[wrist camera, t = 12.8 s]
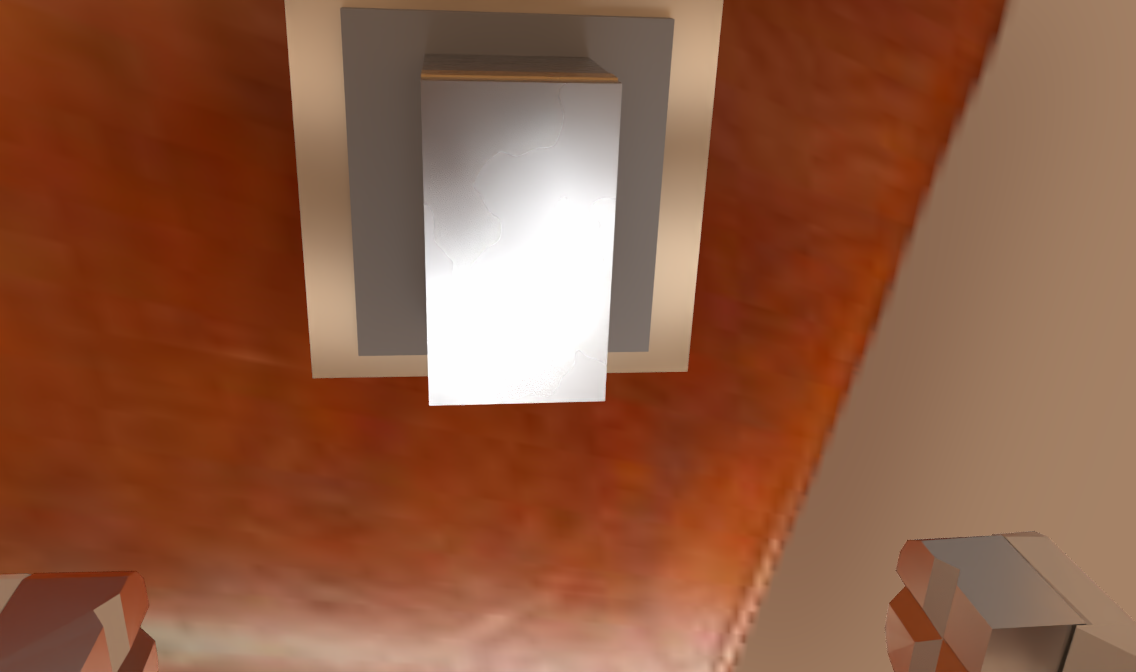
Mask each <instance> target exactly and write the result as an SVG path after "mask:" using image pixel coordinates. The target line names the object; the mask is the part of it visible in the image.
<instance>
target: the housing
mask: <svg viewBox="0 0 1136 672" xmlns="http://www.w3.org/2000/svg"><path fill="white" fill-rule="evenodd" d="M420 82H421V119H422V157H423V194H424V232H425V269H426V307H427V344H428V382H429V406H435V405H473V404H512V403H550V402H588V401H605V390H606V372H607V354H608V335H609V317H610V299H611V281H612V262H613V244H614V226H615V208H616V190H617V171H618V153H619V135H620V117H621V99H622V83H621V82H619V81H618V78H617V77H616V76H615V75H613V74H612V73H608V72H607V71H606V70H604V69H603V68H602V67H601V66H599V65H598V64H597V63H596V62H594V61H593V60H592V59H591V58H589V57H556V56H509V55H461V54H424V60H423V67H422V71H421V80H420Z"/></svg>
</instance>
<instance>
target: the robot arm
mask: <svg viewBox="0 0 1136 672" xmlns="http://www.w3.org/2000/svg"><path fill="white" fill-rule="evenodd" d="M896 572H897V573H898V575H899V577H900V578H901V580H902V582H903V583H904V585H905V587H904V588H903V589H902V590H901V591H900V592H899V594H897V595H896V597H895V598H894V599H893V600H892V601H891V602H890V603H889V606H888V612H887V617H886V624H885V635H886V644H887V652H888V656H889V658H890V662H891V664H892V667H893V670H894V672H1136V622H1135V621H1134V620H1133V619H1132V618H1131V617H1130V616H1129V615H1128V614H1127V613H1126V612H1125V611H1124V610H1123V609H1122V608H1121V607H1120V606H1119V605H1118V604H1117V603H1115V602H1114V600H1113V599H1111V598H1110V597H1109V596H1108V595H1107V594H1106V593H1105V592H1104V591H1103V590H1102V589H1101V588H1100V587H1099V586H1098V585H1097V584H1096V583H1095V582H1094V581H1093V580H1092V579H1091V578H1090V577H1089V576H1088V575H1087V574H1086V573H1085V572H1084V571H1083V570H1082V569H1081V568H1080V567H1079V566H1077V565H1076V564H1075V563H1074V562H1073V561H1072V560H1071V559H1070V558H1069V557H1068V556H1067V555H1066V554H1065V553H1064V552H1063V551H1062V550H1061V549H1060V548H1059V547H1058V546H1057V545H1056V544H1055V543H1054V542H1053V541H1052V540H1051V539H1050V538H1049V537H1047V536H1045V535H1042V534H1040V533H1038V532H1035V531H1030V532H1016V533H1003V534H992V535H991V536H976V537H975V536H974V537H956V538H935V539H917V540H916V539H915V540H907V542H906V543H905V545H904V546H903V548H902V549H901V551H900V554H899V559H898V564H897V567H896ZM148 607H149V601H148V596H147V591H146V586H145V581H144V578H143V577H142V576H141V575H140V574H139V573H138V572H137V571H112V572H65V573H34V574H32V575H31V574H27V573H24V574H0V672H158V657H157V650H156V643H155V640H154V639H153V638H151V637H150V636H149V635H148V634H147V633H146V632H145V631H144V630H143V629H141V628H140V626H141V623H142V621H143V619H144V616H145V614H146V612H147V609H148Z"/></svg>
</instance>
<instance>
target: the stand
mask: <svg viewBox="0 0 1136 672" xmlns="http://www.w3.org/2000/svg"><path fill="white" fill-rule="evenodd" d="M284 1H285V15H286V28H287V42H288V55H289V68H290V82H291V95H292V109H293V122H294V136H295V149H296V163H297V176H298V189H299V203H300V216H301V230H302V243H303V257H304V270H305V283H306V297H307V310H308V324H309V337H310V351H311V364H312V378H352V377H407V376H428V344H427V307H426V269H425V232H424V194H423V157H422V119H421V82H420V80H421V71H422V67H423V60H424V54H461V55H509V56H556V57H589V58H591V59H592V60H593V61H594V62H596V63H597V64H598V65H599V66H601V67H602V68H603V69H604V70H606V71H607V72H608V73H612V74H613V75H615V76H616V77H617V78H618V81H619V82H621V83H622V99H621V117H620V135H619V153H618V171H617V190H616V208H615V226H614V244H613V262H612V281H611V299H610V317H609V335H608V354H607V372H606V373H630V372H686V371H687V370H688V360H689V350H690V339H691V329H692V319H693V308H694V298H695V288H696V278H697V267H698V257H699V247H700V236H701V226H702V216H703V205H704V195H705V185H706V174H707V164H708V154H709V144H710V133H711V123H712V113H713V102H714V92H715V82H716V71H717V61H718V51H719V41H720V30H721V20H722V10H723V0H284Z"/></svg>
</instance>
